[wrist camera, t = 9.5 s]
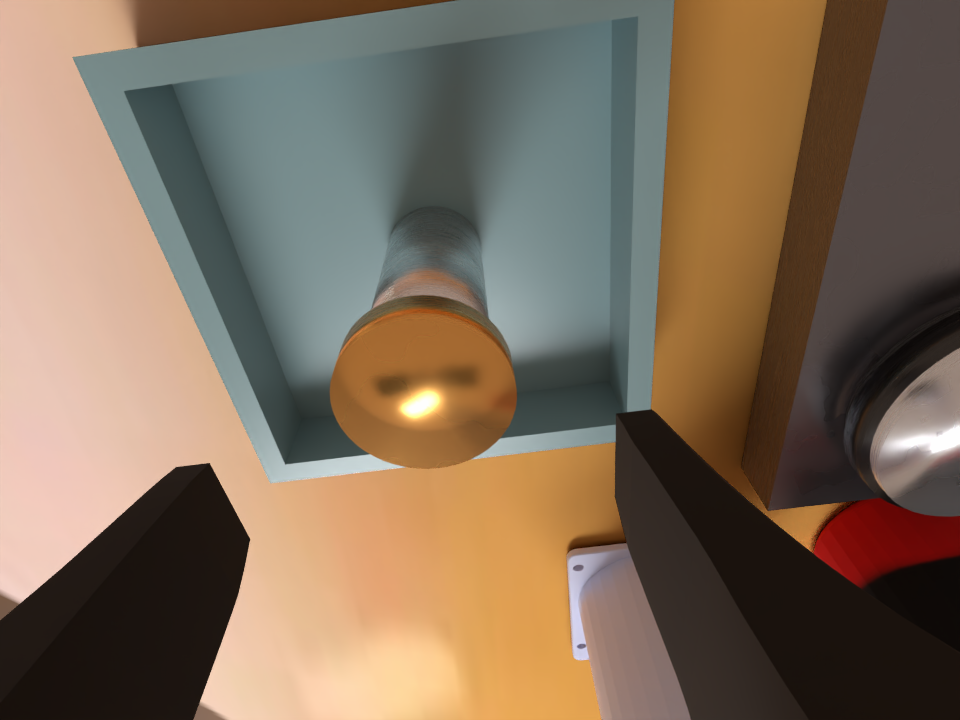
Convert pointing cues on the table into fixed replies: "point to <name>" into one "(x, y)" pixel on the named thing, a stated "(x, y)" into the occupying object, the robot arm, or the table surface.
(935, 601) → the soda can
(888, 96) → the bracket
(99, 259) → the table surface
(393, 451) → the lock pin
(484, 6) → the tray
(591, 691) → the table surface
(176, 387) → the table surface
